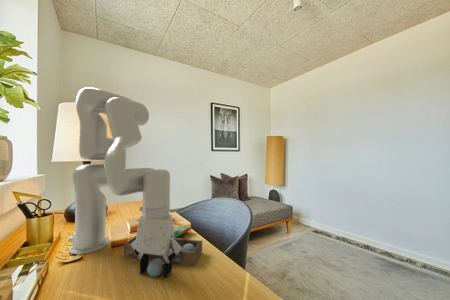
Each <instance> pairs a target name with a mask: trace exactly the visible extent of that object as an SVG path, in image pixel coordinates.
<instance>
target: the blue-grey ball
mask: <svg viewBox="0 0 450 300" xmlns="http://www.w3.org/2000/svg"><path fill="white" fill-rule="evenodd" d="M194 248H195V247H194V246H193V245H192V244H190V243H188V244H185V245H184V246H183V248H182V250H185V251H193V250H194Z"/></svg>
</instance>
